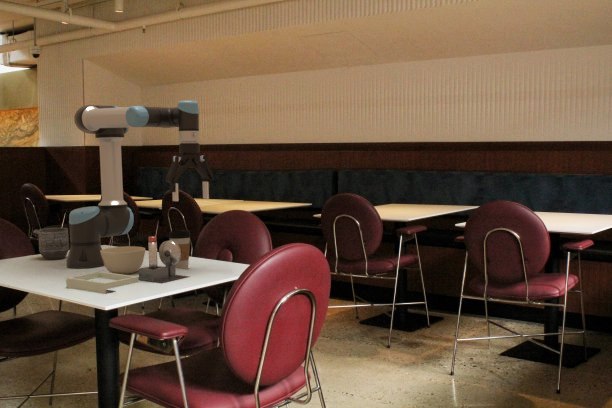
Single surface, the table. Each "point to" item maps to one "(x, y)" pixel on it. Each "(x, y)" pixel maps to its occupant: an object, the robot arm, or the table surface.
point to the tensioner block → (169, 258)
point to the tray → (99, 287)
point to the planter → (53, 243)
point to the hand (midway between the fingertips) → (191, 200)
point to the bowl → (123, 259)
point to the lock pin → (152, 252)
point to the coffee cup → (182, 246)
